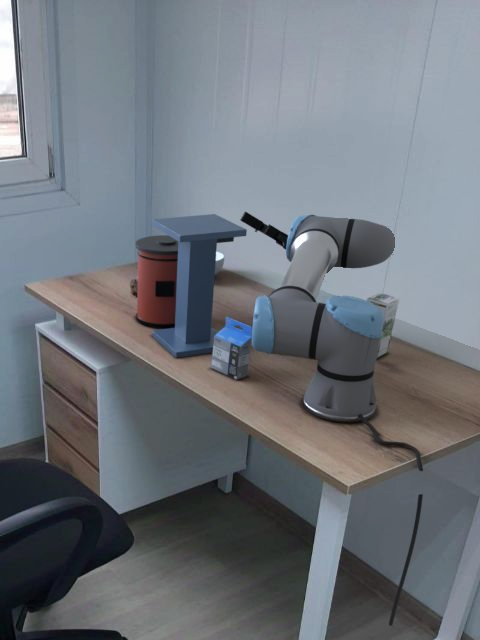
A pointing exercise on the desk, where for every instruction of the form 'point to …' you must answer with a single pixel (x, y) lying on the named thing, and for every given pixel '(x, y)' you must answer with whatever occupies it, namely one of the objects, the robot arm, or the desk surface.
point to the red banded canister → (157, 290)
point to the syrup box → (385, 318)
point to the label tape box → (232, 349)
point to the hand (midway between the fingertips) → (254, 222)
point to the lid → (164, 244)
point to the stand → (194, 281)
